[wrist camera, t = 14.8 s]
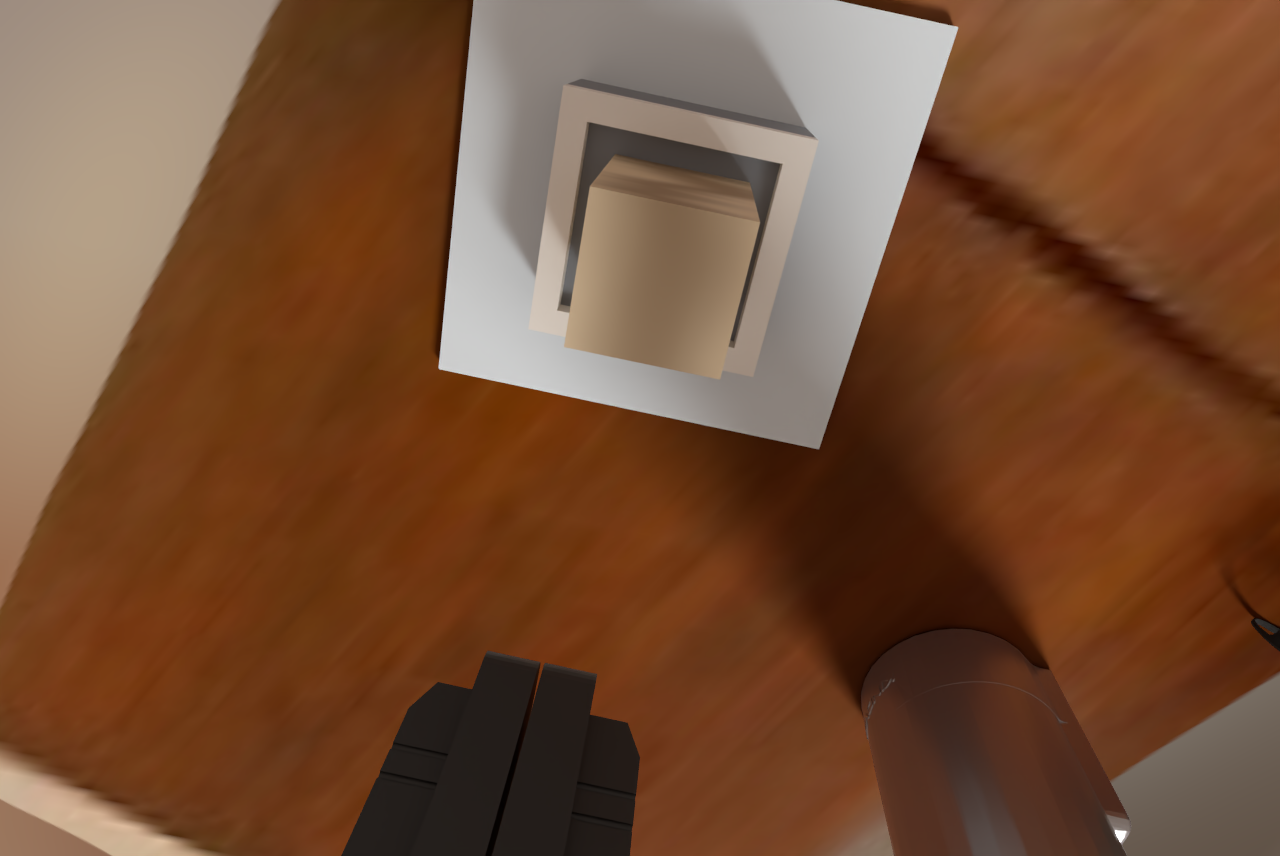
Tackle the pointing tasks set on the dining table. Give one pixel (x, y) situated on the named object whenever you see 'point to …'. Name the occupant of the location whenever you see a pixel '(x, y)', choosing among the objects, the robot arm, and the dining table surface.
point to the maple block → (662, 265)
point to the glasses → (1276, 640)
